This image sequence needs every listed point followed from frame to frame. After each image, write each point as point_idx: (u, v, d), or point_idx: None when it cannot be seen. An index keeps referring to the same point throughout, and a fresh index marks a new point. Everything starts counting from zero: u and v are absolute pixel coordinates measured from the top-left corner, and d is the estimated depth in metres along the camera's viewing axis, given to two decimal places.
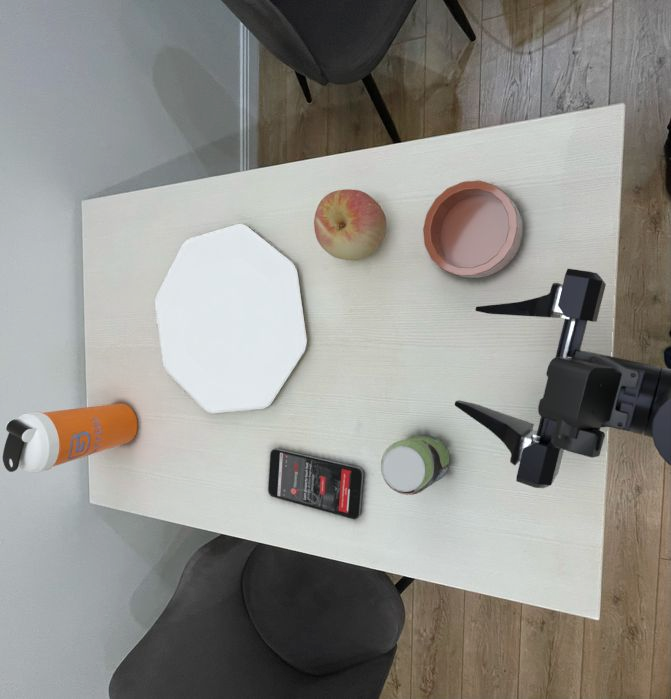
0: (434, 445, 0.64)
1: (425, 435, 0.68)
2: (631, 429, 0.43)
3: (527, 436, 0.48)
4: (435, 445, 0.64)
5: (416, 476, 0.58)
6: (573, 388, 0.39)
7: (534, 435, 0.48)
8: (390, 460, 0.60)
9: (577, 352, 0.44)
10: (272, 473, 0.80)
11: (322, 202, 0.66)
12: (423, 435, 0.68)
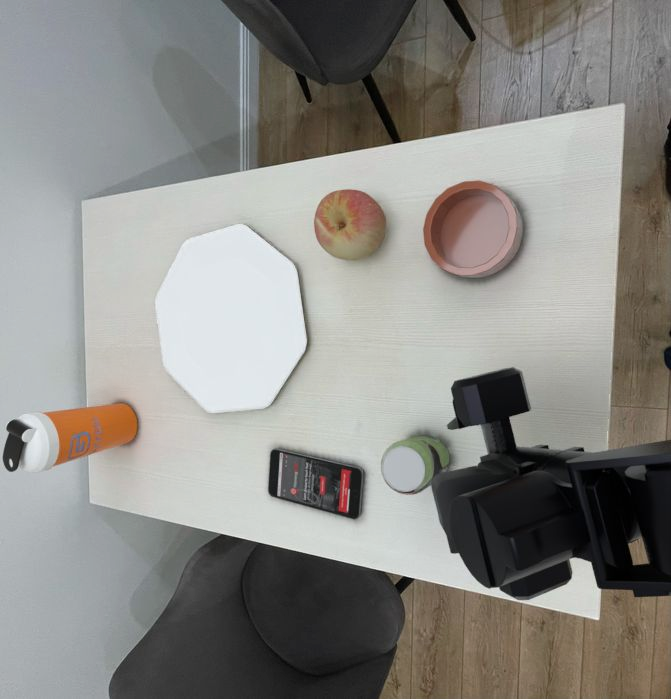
0: (434, 445, 0.64)
1: (425, 435, 0.68)
2: None
3: None
4: (435, 445, 0.64)
5: (416, 476, 0.58)
6: (437, 504, 0.42)
7: None
8: (390, 460, 0.60)
9: (481, 458, 0.44)
10: (272, 473, 0.80)
11: (322, 202, 0.66)
12: (423, 435, 0.68)
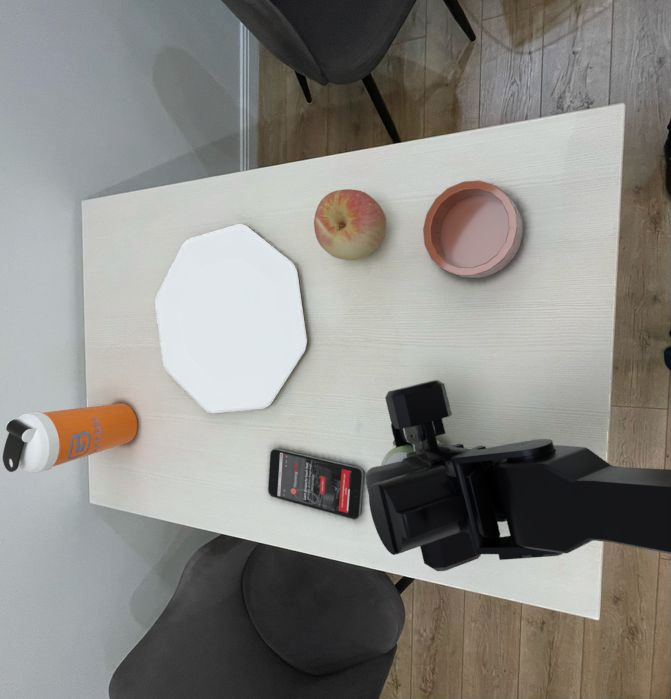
0: None
1: None
2: None
3: None
4: None
5: None
6: None
7: None
8: None
9: None
10: (272, 473, 0.80)
11: (322, 202, 0.66)
12: None
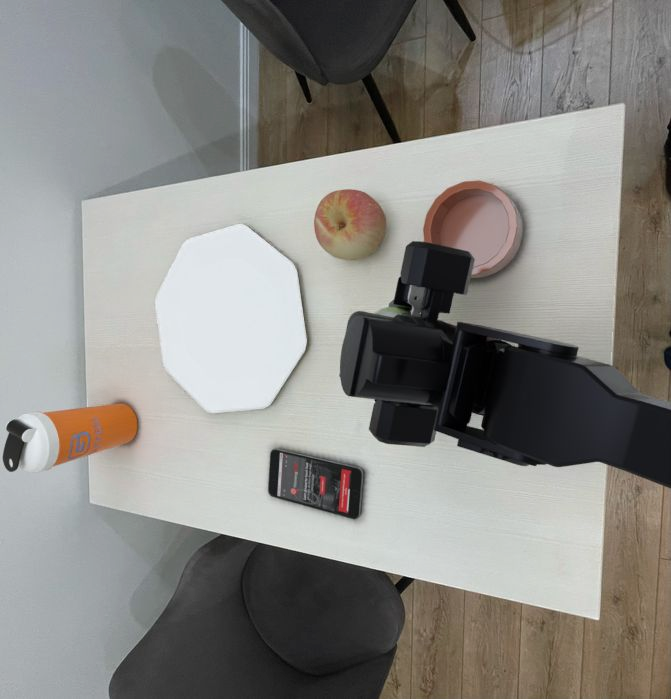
0: None
1: None
2: None
3: None
4: None
5: None
6: None
7: None
8: None
9: (402, 313, 0.48)
10: (272, 473, 0.80)
11: (322, 202, 0.66)
12: None
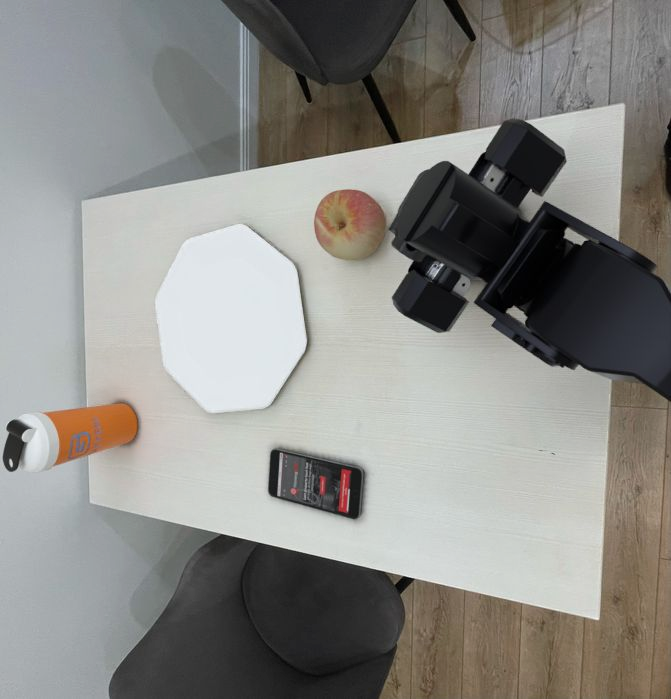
0: None
1: None
2: None
3: (436, 260, 0.50)
4: None
5: None
6: None
7: None
8: None
9: None
10: (272, 473, 0.80)
11: (322, 202, 0.66)
12: None
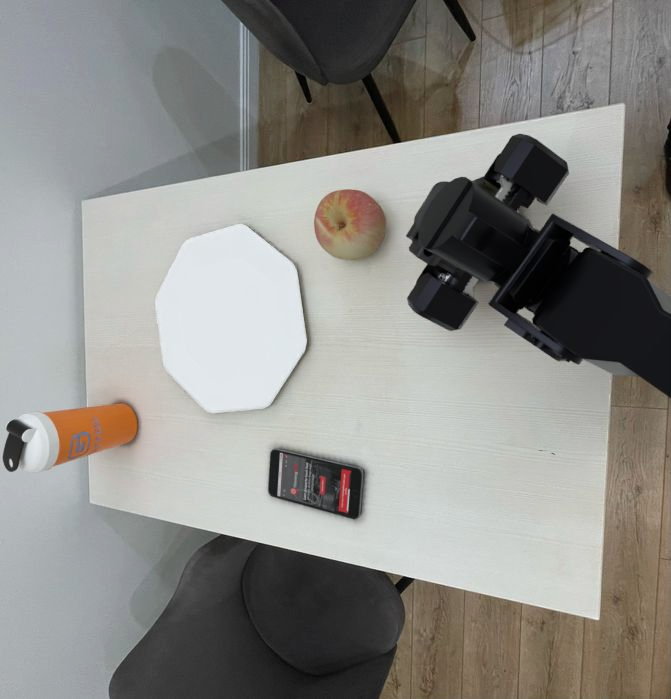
0: None
1: None
2: None
3: (442, 272, 0.54)
4: None
5: None
6: (429, 196, 0.47)
7: (447, 273, 0.54)
8: None
9: None
10: (272, 473, 0.80)
11: (322, 202, 0.66)
12: None
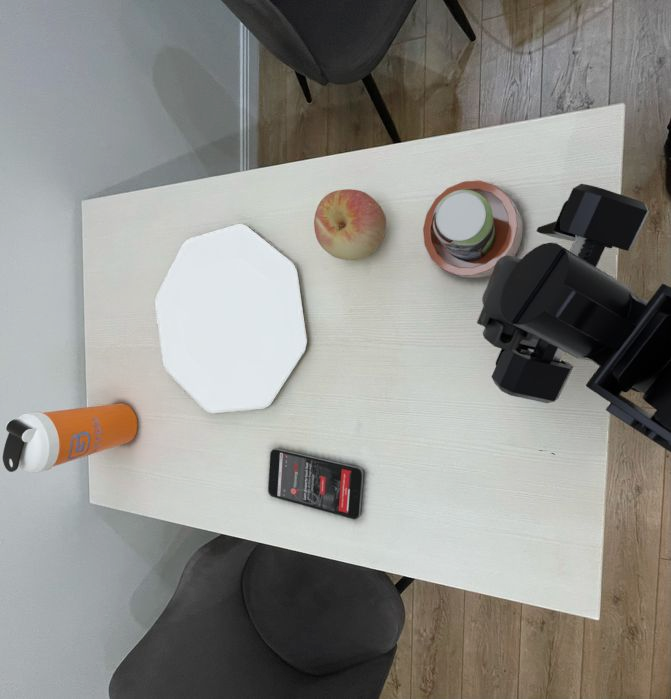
0: None
1: None
2: None
3: (522, 349, 0.50)
4: None
5: (465, 232, 0.54)
6: (493, 278, 0.43)
7: (528, 349, 0.49)
8: (456, 200, 0.54)
9: None
10: (272, 473, 0.80)
11: (322, 202, 0.66)
12: None
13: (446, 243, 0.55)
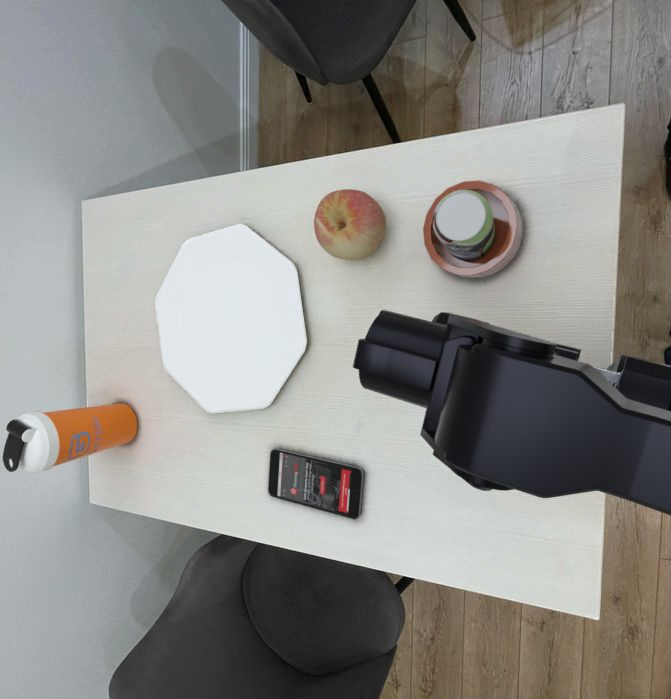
0: None
1: None
2: None
3: None
4: None
5: (465, 232, 0.54)
6: None
7: None
8: (456, 200, 0.54)
9: None
10: (272, 473, 0.80)
11: (322, 202, 0.66)
12: None
13: (446, 243, 0.55)
